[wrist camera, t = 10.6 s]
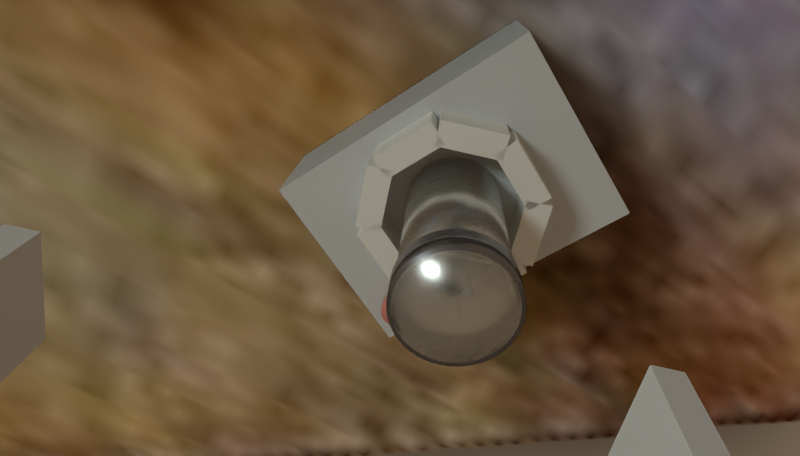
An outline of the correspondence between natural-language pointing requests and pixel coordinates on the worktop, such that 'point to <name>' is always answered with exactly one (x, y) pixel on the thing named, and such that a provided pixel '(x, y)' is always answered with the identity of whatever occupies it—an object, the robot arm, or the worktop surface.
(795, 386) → the worktop surface
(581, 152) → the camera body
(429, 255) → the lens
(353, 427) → the worktop surface
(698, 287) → the worktop surface
